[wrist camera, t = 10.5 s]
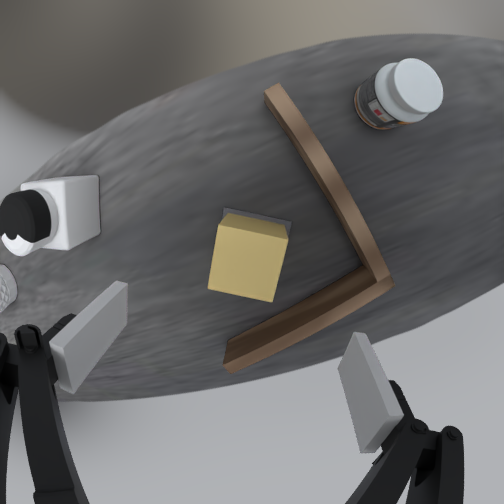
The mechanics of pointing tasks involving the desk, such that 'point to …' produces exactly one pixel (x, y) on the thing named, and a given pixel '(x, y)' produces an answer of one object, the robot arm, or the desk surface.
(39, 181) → the medicine bottle
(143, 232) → the desk surface
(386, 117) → the pill bottle
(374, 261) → the angled wooden barrier
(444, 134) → the desk surface
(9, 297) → the white cup
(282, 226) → the cube
